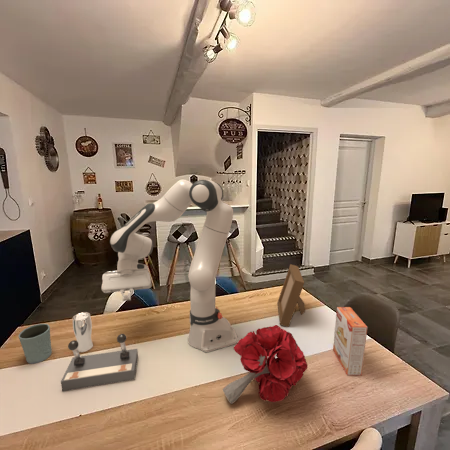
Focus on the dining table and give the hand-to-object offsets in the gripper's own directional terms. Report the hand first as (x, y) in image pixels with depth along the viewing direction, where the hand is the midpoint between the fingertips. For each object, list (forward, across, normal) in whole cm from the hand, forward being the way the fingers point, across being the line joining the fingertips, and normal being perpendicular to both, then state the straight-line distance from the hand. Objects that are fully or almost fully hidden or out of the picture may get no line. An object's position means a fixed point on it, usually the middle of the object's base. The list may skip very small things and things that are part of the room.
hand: (126, 300), depth 108 cm
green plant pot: (+14, -36, +17) cm, 42 cm away
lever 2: (+21, 0, +4) cm, 21 cm away
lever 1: (+21, -16, +4) cm, 27 cm away
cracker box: (+38, +85, -5) cm, 93 cm away
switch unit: (+25, -8, +6) cm, 27 cm away
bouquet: (+40, +48, -8) cm, 63 cm away
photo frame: (+12, +81, +21) cm, 84 cm away
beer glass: (+13, -19, +18) cm, 29 cm away
